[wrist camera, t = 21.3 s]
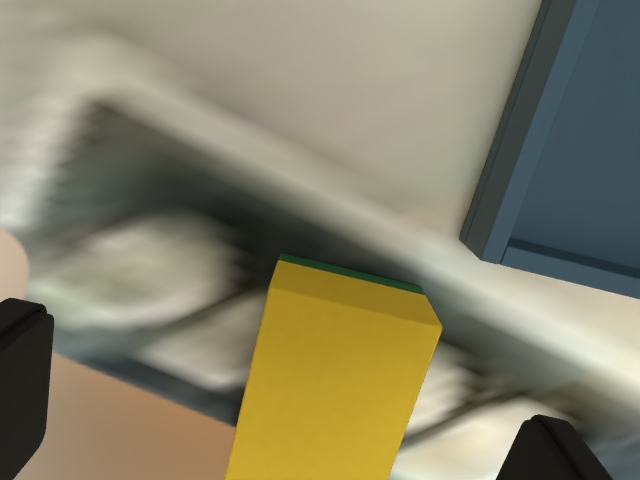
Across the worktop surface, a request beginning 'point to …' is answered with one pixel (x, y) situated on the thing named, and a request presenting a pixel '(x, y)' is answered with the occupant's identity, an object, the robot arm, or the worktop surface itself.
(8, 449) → the robot arm
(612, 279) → the tray
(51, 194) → the worktop surface
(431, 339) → the sponge
